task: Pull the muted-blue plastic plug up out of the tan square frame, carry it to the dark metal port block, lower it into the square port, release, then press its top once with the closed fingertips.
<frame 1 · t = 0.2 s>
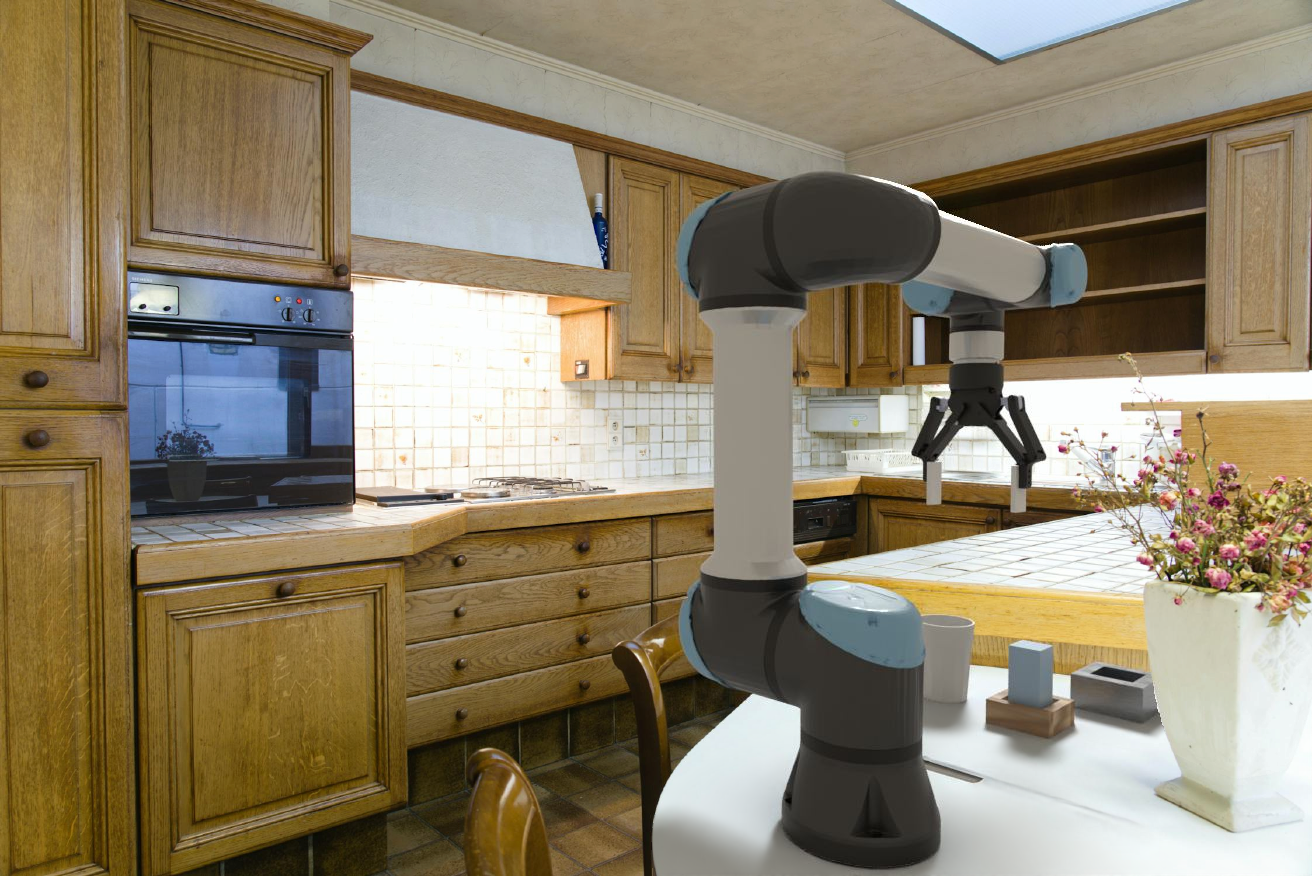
hand: (974, 508, 126), 27 cm above the table, fingers open, 13 cm apart
port: (1117, 710, 117), resting on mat
smartphone: (927, 761, 103), on the table
plug: (1029, 722, 111), point 1 cm above the table, touching tan square frame
tan square frame: (1029, 726, 111), resting on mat
cup: (943, 706, 122), on the table
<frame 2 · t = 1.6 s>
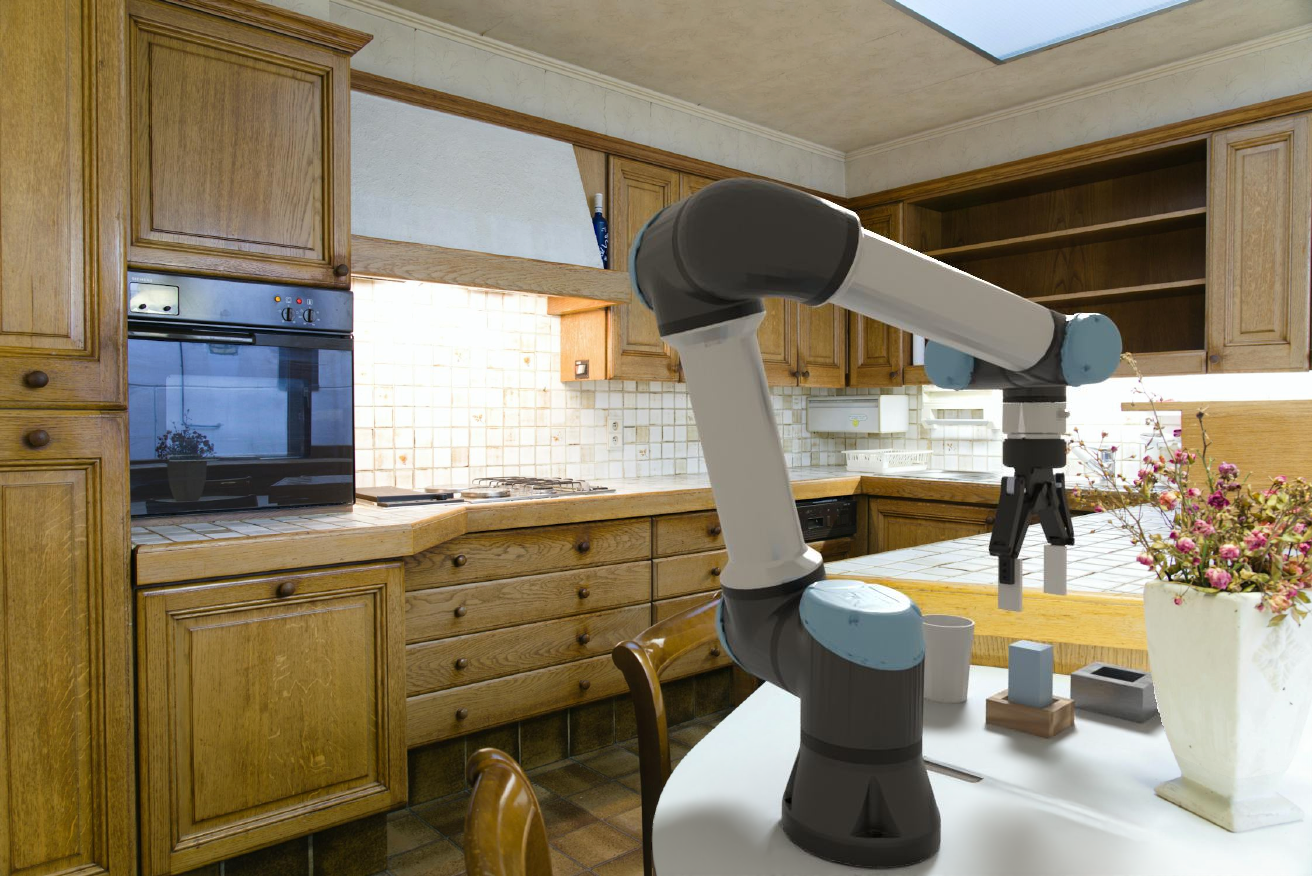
hand: (1033, 601, 111), 17 cm above the table, fingers open, 13 cm apart
nothing on the table moved.
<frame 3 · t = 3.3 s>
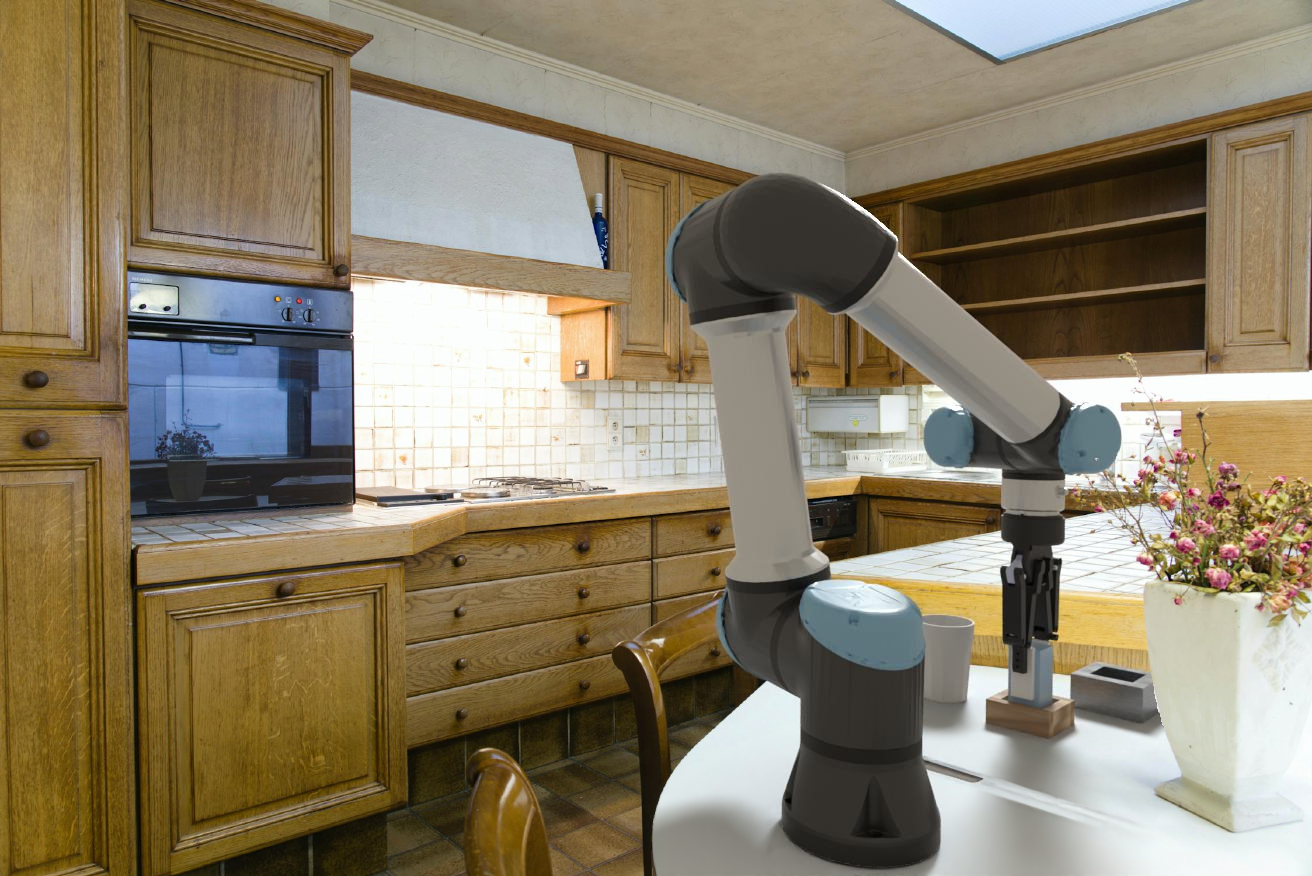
hand: (1030, 692, 111), 5 cm above the table, fingers closed on plug, 4 cm apart
plug: (1029, 722, 111), point 1 cm above the table, touching gripper, tan square frame
everything else where it was.
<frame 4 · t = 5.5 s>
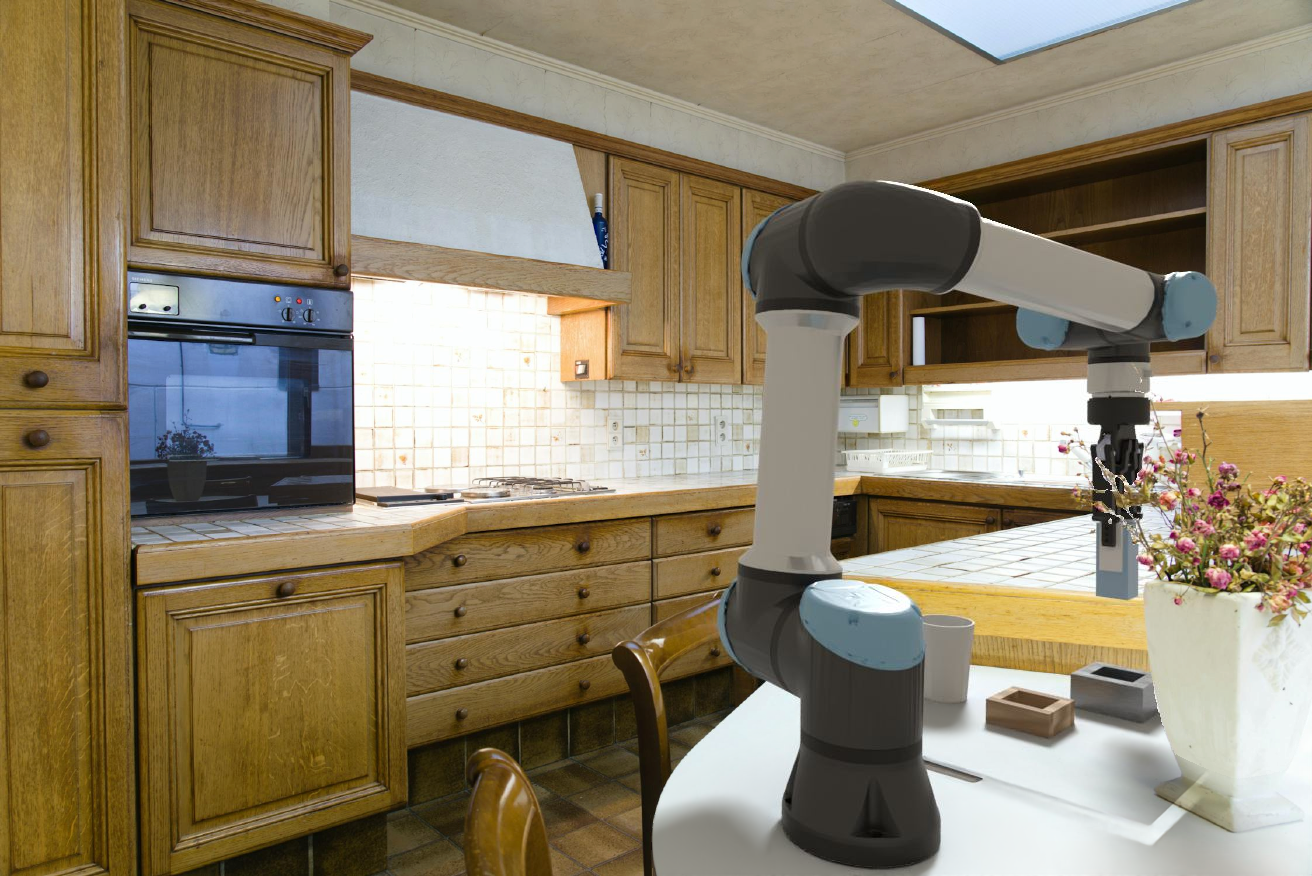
hand: (1117, 568, 117), 20 cm above the table, fingers closed on plug, 4 cm apart
plug: (1116, 596, 117), point 17 cm above the table, touching gripper
everything else where it was.
when the fingers open (7 cm above the table, at t = 7.6 s): plug drops 2 cm, resting on port.
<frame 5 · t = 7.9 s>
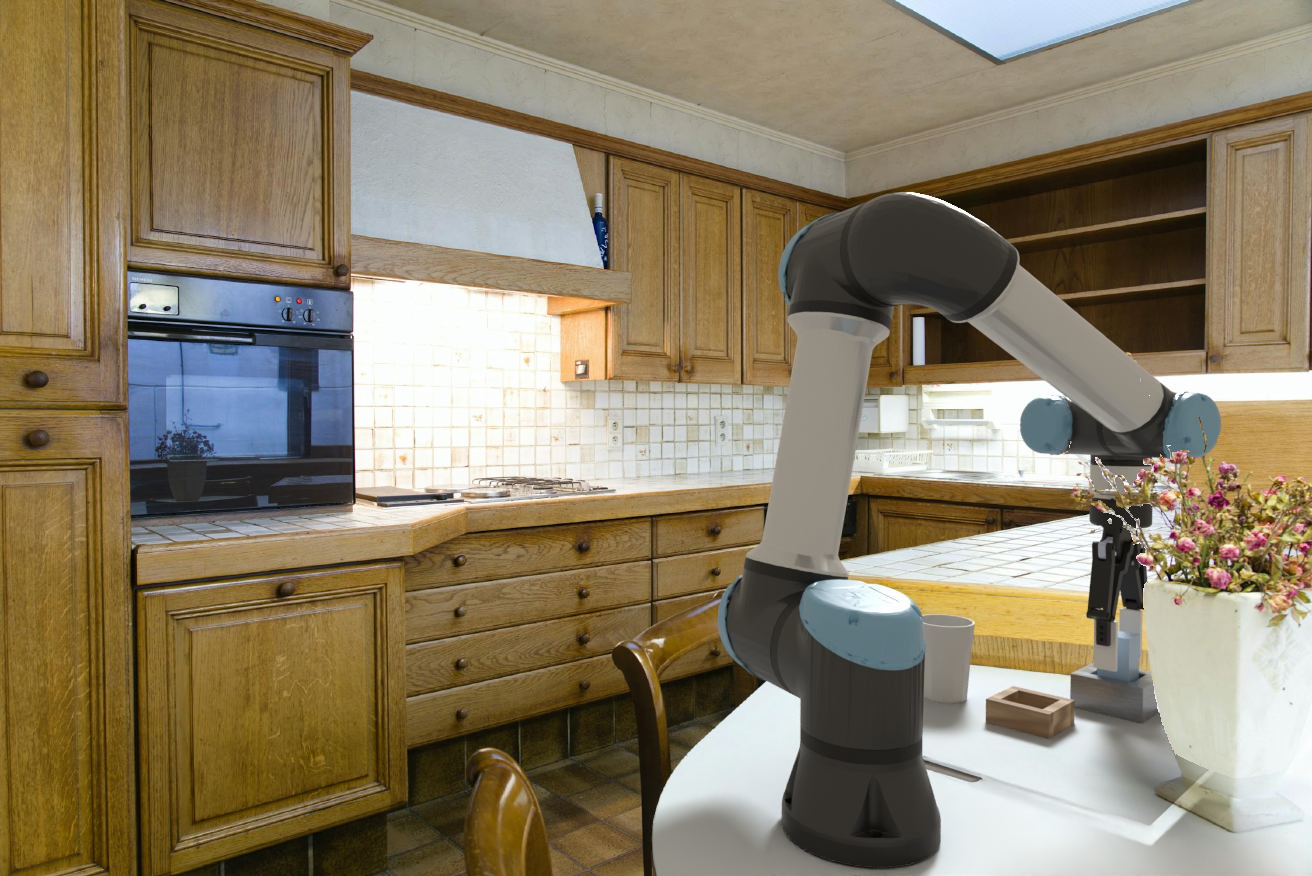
hand: (1118, 662, 117), 7 cm above the table, fingers open, 9 cm apart
plug: (1117, 707, 117), point 1 cm above the table, touching port
everything else where it was.
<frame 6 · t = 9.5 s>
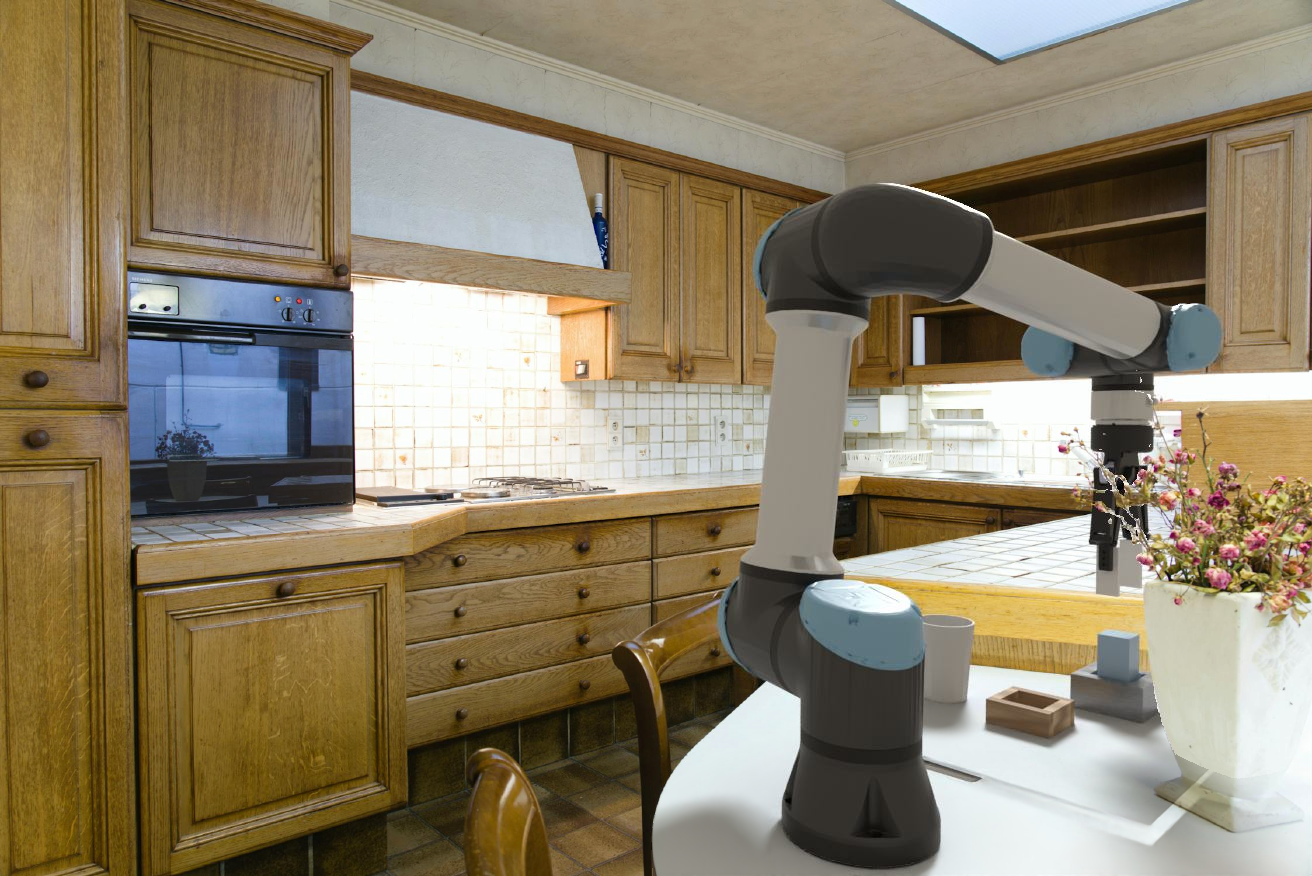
hand: (1119, 590, 117), 17 cm above the table, fingers open, 8 cm apart
nothing on the table moved.
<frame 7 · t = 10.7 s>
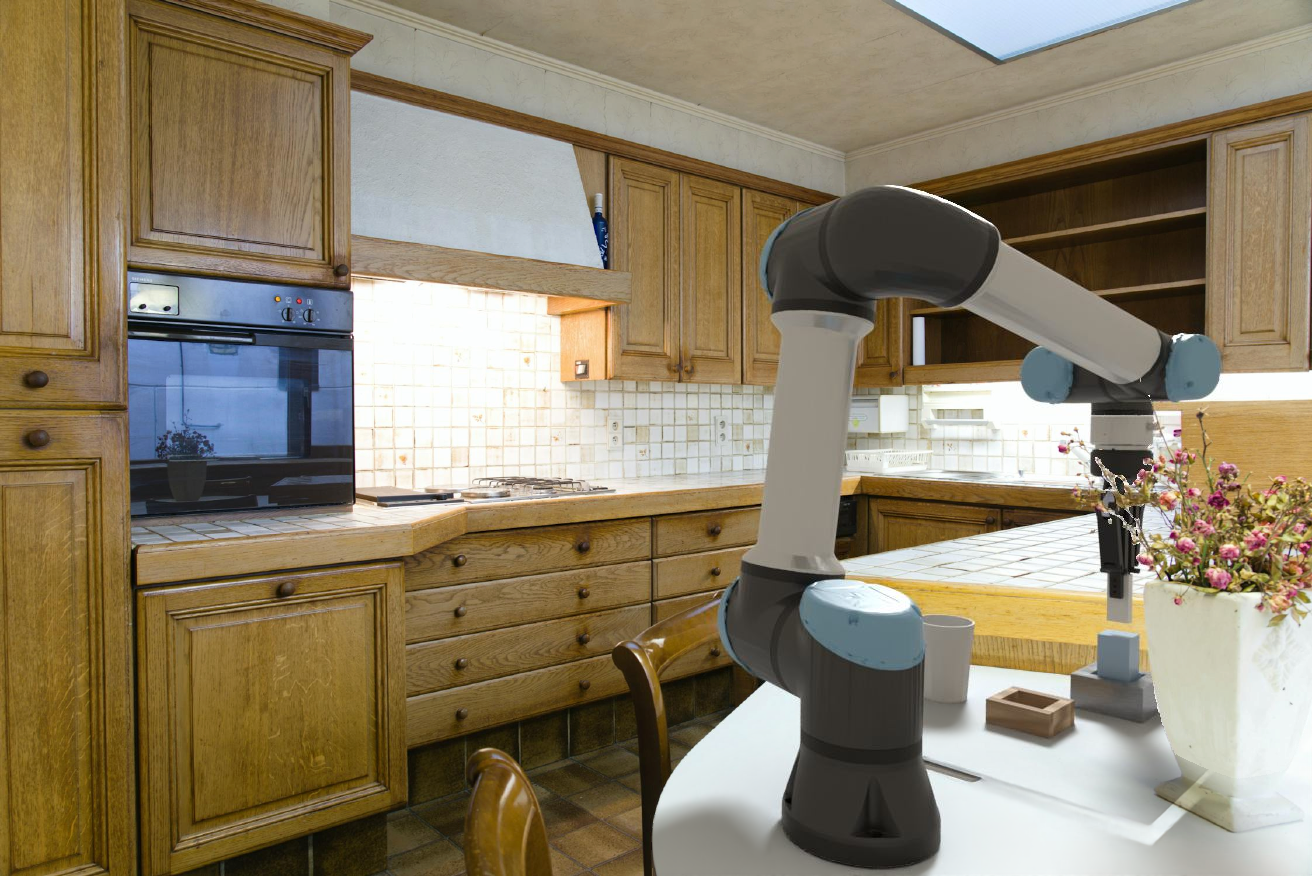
hand: (1119, 621, 117), 13 cm above the table, fingers closed
nothing on the table moved.
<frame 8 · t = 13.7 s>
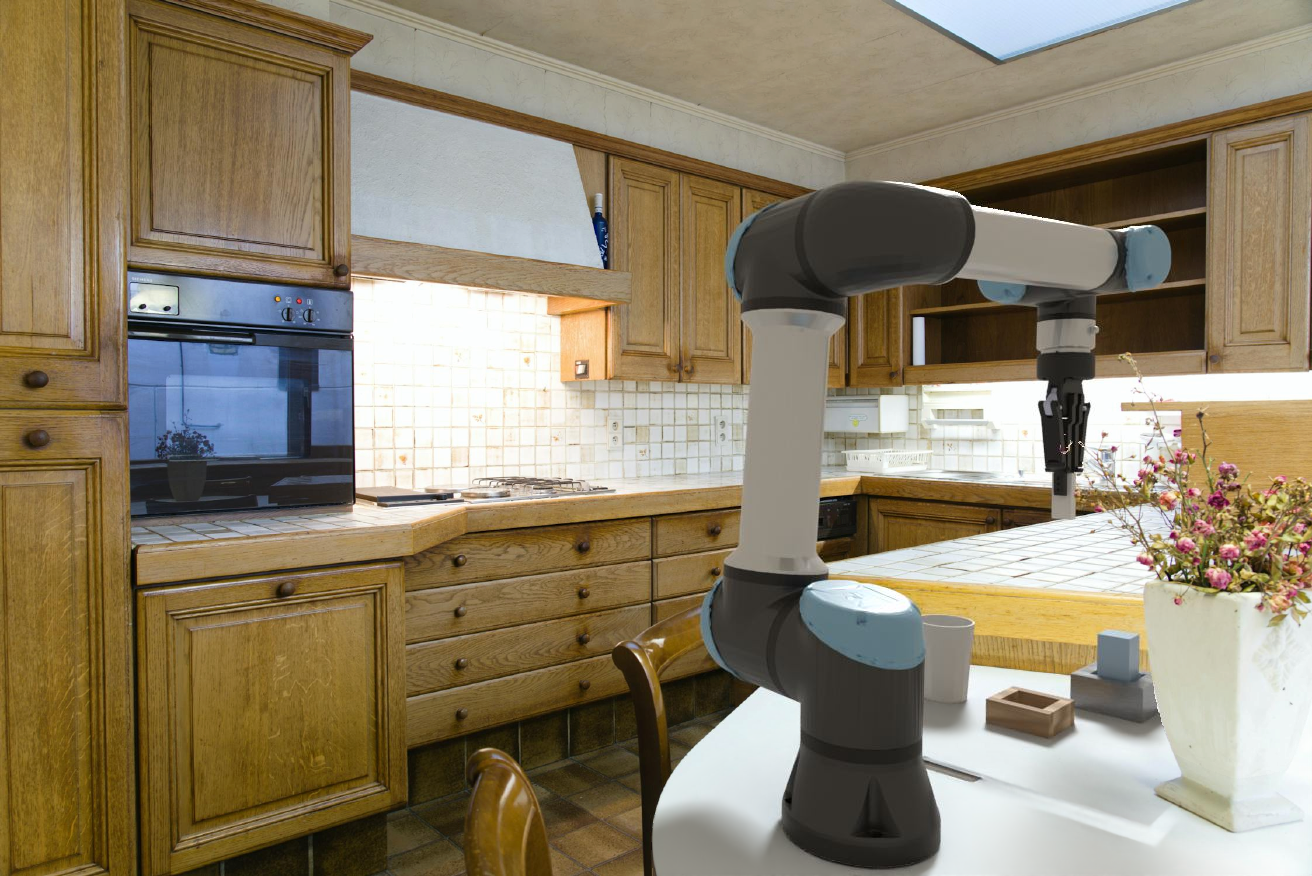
hand: (1063, 518, 122), 26 cm above the table, fingers closed
nothing on the table moved.
at the end: plug 0.1 cm off-centre on the port, point 0.5 cm above the port's base; plug tilted 0°; the gripper is holding nothing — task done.
